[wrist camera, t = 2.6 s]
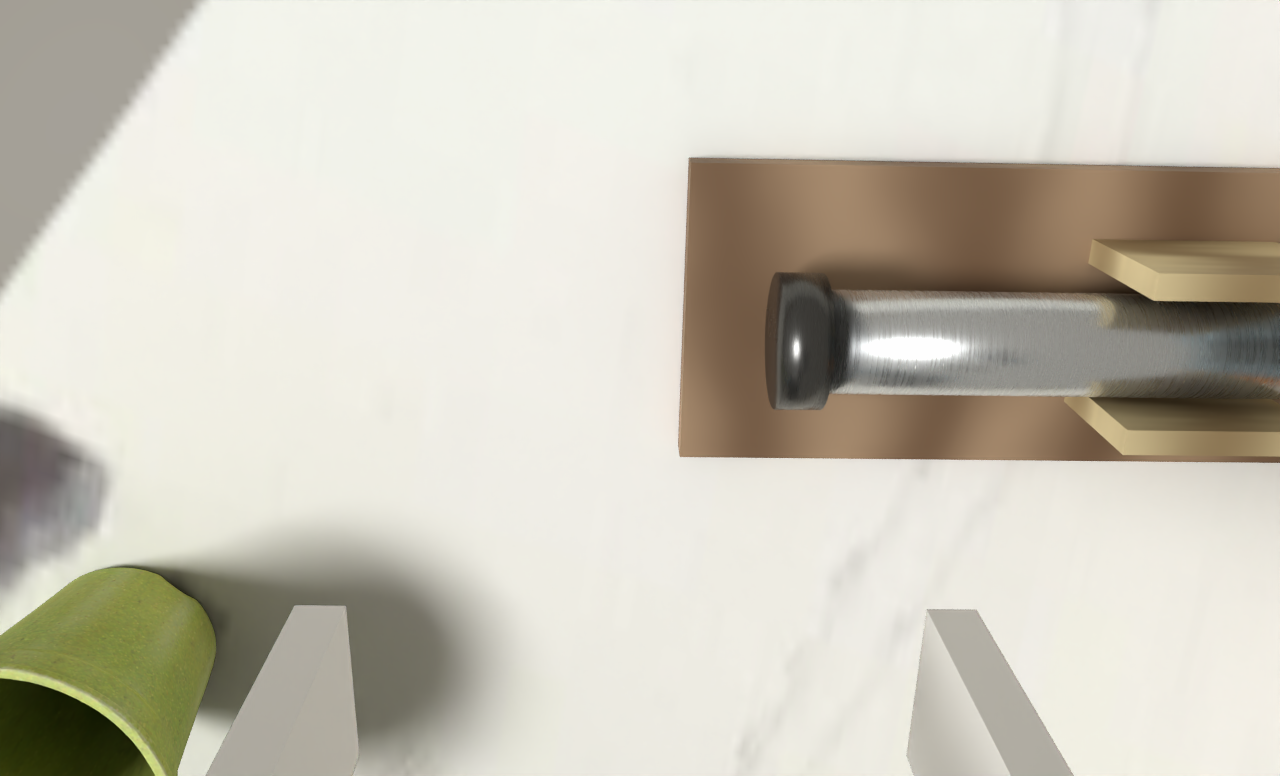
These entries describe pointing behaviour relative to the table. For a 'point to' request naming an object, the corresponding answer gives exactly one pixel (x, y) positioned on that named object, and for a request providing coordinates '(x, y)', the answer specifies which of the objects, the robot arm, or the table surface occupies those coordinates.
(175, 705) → the plant pot
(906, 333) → the tube
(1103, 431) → the base
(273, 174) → the table surface
